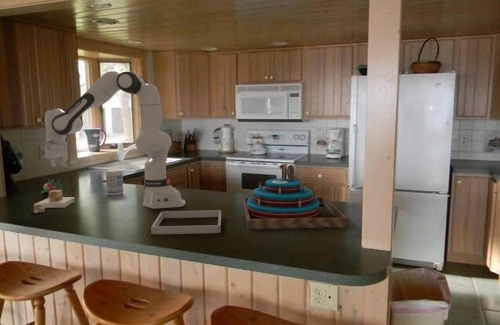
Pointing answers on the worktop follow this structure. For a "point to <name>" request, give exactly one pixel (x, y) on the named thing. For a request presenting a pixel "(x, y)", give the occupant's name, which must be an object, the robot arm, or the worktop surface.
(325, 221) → the walnut cake board rim
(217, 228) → the grey tray rim
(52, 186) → the flower vase
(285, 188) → the birthday cake
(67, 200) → the plate
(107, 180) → the supplement tub
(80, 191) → the worktop surface
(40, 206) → the maple block
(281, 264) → the worktop surface
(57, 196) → the oak block
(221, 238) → the worktop surface
